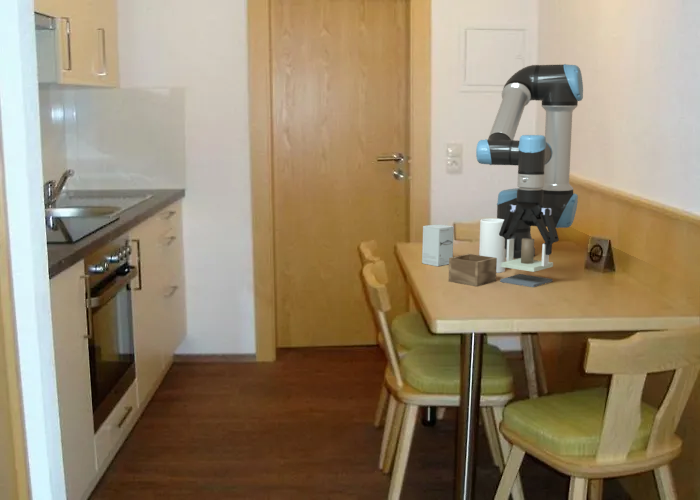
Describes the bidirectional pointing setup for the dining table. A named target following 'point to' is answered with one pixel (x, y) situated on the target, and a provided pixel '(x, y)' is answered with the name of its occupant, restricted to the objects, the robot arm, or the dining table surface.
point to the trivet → (526, 280)
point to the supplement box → (437, 244)
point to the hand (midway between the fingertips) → (527, 263)
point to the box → (472, 269)
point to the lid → (526, 258)
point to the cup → (492, 241)
